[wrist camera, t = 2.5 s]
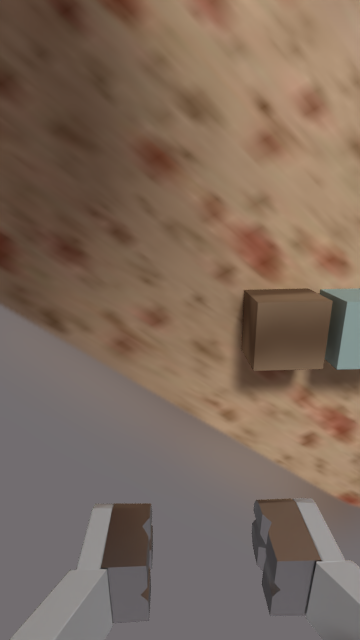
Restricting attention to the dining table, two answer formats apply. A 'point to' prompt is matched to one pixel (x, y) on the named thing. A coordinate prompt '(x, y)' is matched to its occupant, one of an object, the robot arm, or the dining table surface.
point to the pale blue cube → (343, 328)
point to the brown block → (285, 329)
